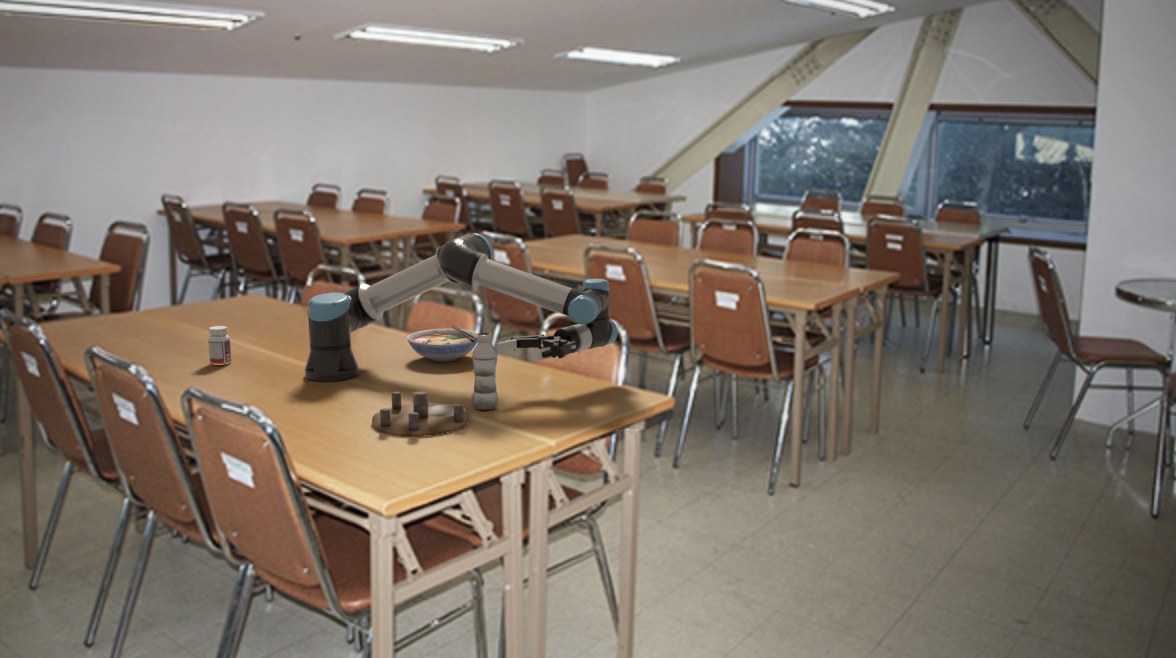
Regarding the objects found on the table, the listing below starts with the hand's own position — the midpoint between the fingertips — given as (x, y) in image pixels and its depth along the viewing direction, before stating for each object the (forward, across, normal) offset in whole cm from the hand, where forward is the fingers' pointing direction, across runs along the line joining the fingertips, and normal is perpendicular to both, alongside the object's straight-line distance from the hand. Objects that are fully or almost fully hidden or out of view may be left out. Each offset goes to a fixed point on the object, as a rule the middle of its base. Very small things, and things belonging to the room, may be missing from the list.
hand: (513, 352), depth 270 cm
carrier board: (+28, +3, -13) cm, 31 cm away
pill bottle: (+38, +93, -13) cm, 101 cm away
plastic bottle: (+10, 0, -14) cm, 17 cm away
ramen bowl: (-15, +50, -13) cm, 54 cm away
